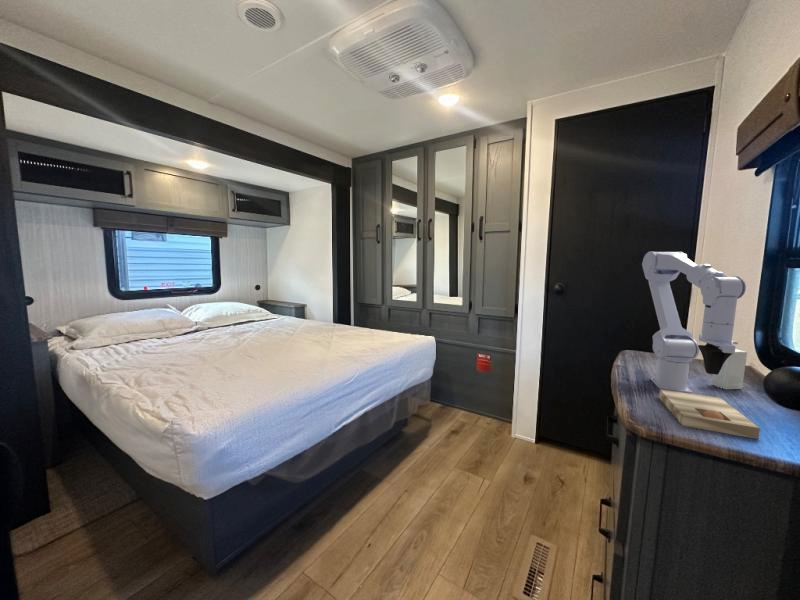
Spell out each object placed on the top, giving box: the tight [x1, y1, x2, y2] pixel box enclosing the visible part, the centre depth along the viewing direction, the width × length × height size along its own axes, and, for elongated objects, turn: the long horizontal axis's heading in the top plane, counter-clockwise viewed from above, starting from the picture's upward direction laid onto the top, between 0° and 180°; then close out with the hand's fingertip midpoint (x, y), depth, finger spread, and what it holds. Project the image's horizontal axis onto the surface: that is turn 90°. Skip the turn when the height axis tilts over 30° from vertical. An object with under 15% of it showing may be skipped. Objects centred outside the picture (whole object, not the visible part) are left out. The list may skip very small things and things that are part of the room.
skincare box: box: [711, 348, 748, 390], centre depth 99 cm, size 6×4×12 cm
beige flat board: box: [658, 388, 761, 440], centre depth 80 cm, size 18×13×2 cm
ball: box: [702, 410, 724, 420], centre depth 75 cm, size 4×4×4 cm
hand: (711, 373), depth 84 cm, fingers closed
